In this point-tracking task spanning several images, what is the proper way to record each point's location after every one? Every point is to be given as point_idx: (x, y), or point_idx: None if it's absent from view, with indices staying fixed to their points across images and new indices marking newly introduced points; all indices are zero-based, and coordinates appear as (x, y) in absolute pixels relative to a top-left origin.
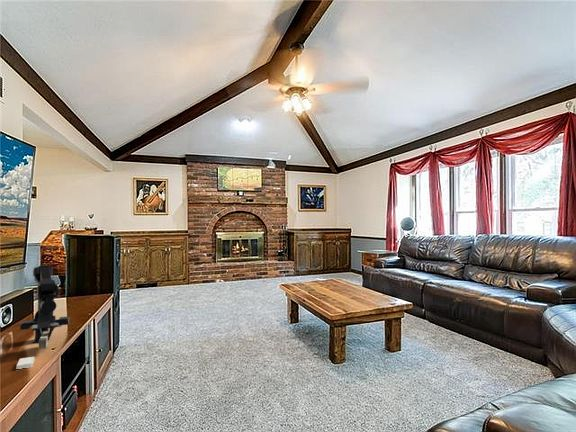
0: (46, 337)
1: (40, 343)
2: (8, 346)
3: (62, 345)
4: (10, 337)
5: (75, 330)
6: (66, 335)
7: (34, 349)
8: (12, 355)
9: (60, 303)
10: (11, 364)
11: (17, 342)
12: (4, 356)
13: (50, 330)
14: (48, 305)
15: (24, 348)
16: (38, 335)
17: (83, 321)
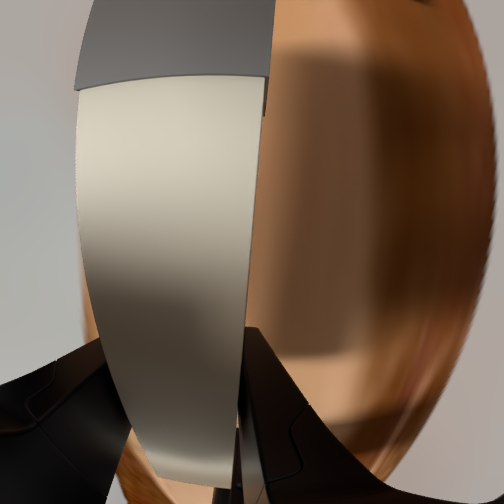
0: (85, 115)
1: None
2: (417, 418)
3: (86, 290)
4: None
5: (119, 464)
6: (133, 444)
7: (307, 313)
8: (459, 242)
9: None
10: (446, 18)
11: (368, 451)
12: (489, 251)
13: (22, 410)
14: None
15: (368, 368)
16: (302, 400)
17: (131, 496)
